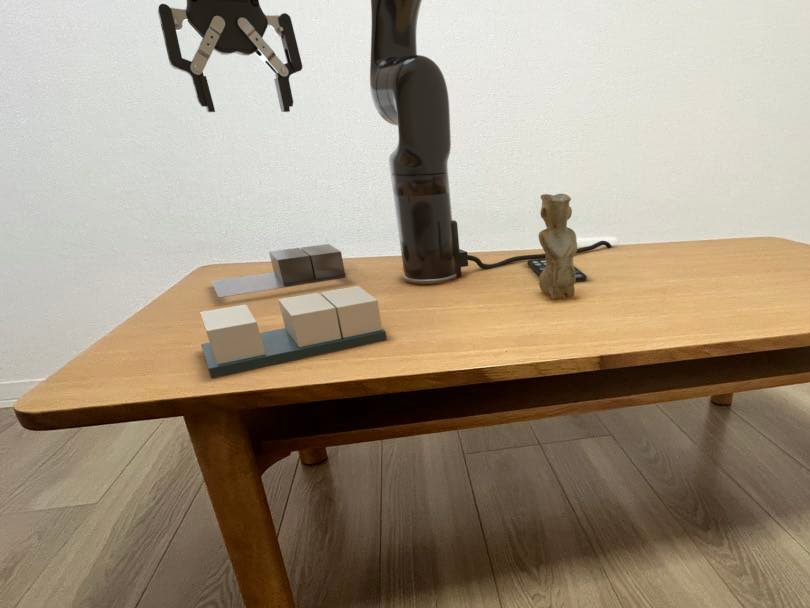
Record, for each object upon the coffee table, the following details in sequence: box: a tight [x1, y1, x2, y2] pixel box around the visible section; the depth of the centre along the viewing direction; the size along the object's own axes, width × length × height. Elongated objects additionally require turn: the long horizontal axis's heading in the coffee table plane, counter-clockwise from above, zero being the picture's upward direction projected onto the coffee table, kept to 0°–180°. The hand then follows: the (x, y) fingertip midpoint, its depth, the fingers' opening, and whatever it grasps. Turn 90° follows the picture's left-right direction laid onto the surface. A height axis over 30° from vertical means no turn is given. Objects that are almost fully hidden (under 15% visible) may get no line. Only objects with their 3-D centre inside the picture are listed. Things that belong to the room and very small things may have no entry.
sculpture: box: [538, 193, 578, 300], centre depth 82 cm, size 6×7×15 cm
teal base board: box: [200, 285, 388, 379], centre depth 66 cm, size 20×9×5 cm, turn 124°
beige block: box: [199, 304, 265, 365], centre depth 63 cm, size 5×8×4 cm, turn 34°
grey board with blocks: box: [210, 243, 349, 299], centre depth 92 cm, size 20×12×5 cm, turn 124°
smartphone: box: [526, 259, 588, 282], centre depth 98 cm, size 7×1×15 cm
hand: (249, 112), depth 67 cm, fingers open, 8 cm apart
